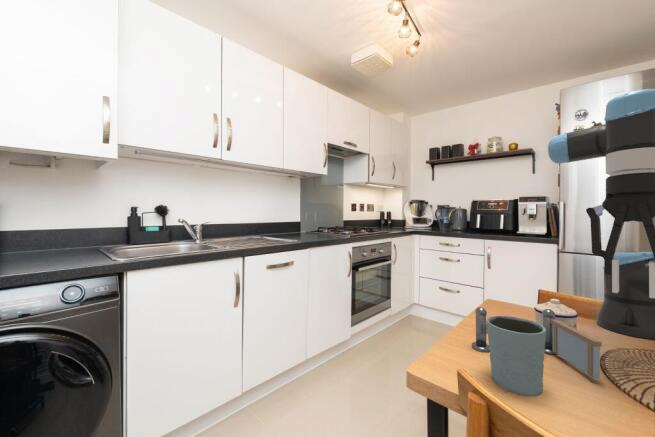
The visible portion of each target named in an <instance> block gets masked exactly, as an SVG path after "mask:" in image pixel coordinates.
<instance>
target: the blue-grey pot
mask: <svg viewBox="0 0 655 437" xmlns="http://www.w3.org/2000/svg"><path fill="white" fill-rule="evenodd" d="M486 323H487V329H488V334H487V339H488V340H487V342H488V345H489V350H490V352H489V361H490V362H489V363H490V368H491V369H490V371H491V380H492V381H493V382H494V383H495V384H496V385H497V386H499V387H500V388H502V389H504V390H506V391H508V392H511V393H514V394H517V395H521V396H527V397H536V396H539V395H541V394H542V393H543V388H544V384H543V381H544V380H543V379H544V370H545V369H544V368H545V367H544V362H545V354H546V353H545V339H546V329H545V328H544V327H543V326H542V325H541V324H538V323H536V322H535V321H533V320H530V319H527V318H523V317H522V318H521V317H516V316H509V315H494V316H489V317H487V318H486Z"/></svg>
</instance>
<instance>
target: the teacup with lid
mask: <svg viewBox="0 0 655 437" xmlns="http://www.w3.org/2000/svg"><path fill="white" fill-rule="evenodd" d="M533 309H534V322H536V323H538V324H541V325H542V326H543V315H542V311H543V310H545V309H550V310H552V311H553V312H554V313H555V320H559V321H561V322H563V323H565V324H567V325H569V326H571V327H573V328H575V329H577V330H578V327H577V326H578V324H577V323H578V322H577V319H578V316H579V315H578V312H577V311H576V310H575V309H573V308H571V307H568V306H567V305H565V304H563V303H561V300H559V299H558V298H550V300H549V301H547V302H544V303H537V304H535V305H534V308H533Z"/></svg>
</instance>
